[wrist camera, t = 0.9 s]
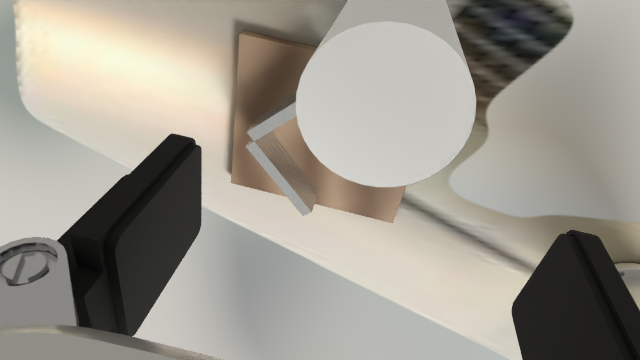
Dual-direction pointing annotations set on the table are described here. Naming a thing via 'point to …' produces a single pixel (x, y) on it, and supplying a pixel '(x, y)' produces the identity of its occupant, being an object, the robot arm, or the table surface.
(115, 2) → the table surface
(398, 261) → the table surface
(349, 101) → the cylindrical container
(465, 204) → the table surface
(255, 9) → the table surface
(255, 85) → the v cradle
